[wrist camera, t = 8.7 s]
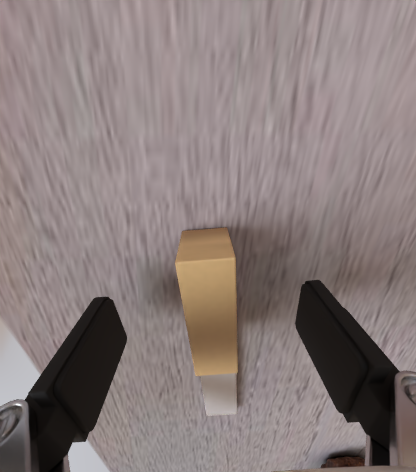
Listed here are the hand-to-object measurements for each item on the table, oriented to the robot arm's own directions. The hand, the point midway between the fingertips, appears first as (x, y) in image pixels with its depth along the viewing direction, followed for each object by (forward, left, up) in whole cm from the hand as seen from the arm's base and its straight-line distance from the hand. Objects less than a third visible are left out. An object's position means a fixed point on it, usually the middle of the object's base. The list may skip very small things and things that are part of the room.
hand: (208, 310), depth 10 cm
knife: (0, -5, -2) cm, 5 cm away
